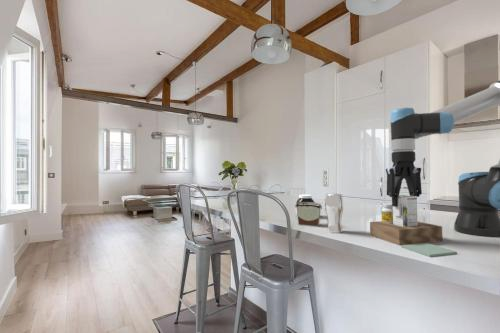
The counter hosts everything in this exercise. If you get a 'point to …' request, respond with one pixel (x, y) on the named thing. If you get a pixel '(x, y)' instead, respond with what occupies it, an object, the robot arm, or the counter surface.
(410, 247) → the sage rubber mat
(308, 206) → the food container
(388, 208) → the supplement bottle
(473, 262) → the counter surface
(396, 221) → the syrup box
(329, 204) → the beer glass
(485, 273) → the counter surface
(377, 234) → the walnut block
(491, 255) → the counter surface
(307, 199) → the spread jar
